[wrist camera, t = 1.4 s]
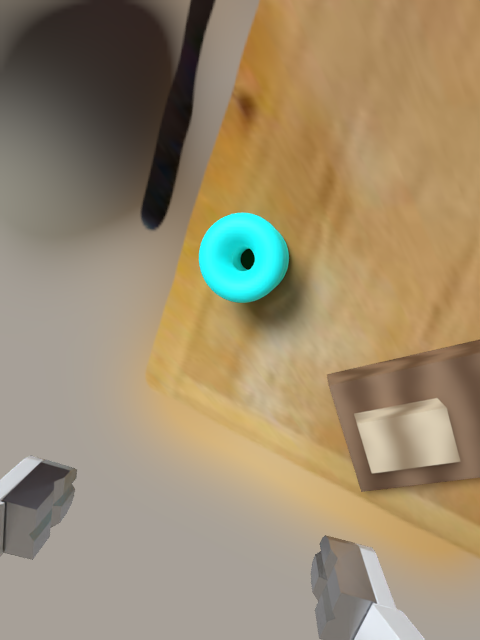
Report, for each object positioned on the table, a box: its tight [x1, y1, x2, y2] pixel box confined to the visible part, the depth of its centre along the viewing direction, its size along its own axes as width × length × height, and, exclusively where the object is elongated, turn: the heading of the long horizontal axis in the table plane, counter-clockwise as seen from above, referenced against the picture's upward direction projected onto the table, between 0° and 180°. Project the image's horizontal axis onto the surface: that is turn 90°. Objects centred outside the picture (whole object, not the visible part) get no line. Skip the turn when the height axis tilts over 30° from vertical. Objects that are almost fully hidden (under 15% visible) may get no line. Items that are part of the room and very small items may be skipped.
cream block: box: [354, 398, 460, 474], centre depth 37 cm, size 10×7×2 cm
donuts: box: [199, 213, 289, 303], centre depth 37 cm, size 10×10×10 cm
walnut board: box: [327, 340, 480, 492], centre depth 39 cm, size 20×16×4 cm
